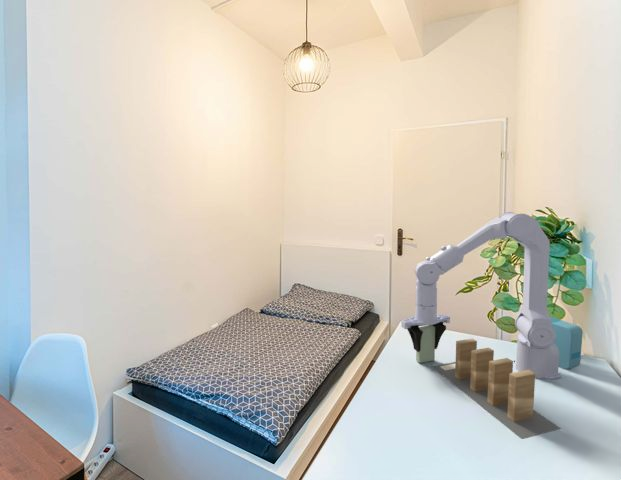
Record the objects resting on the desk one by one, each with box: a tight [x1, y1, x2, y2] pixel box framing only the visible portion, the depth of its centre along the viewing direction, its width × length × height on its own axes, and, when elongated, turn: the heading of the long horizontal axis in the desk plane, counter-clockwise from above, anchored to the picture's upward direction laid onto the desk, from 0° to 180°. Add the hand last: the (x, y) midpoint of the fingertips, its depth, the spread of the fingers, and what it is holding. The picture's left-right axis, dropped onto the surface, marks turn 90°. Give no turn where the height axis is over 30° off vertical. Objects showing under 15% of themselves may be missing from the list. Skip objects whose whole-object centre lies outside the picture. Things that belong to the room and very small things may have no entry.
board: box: [431, 361, 562, 440], centre depth 78 cm, size 10×29×1 cm, turn 14°
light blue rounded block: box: [550, 316, 584, 370], centre depth 93 cm, size 12×4×12 cm, turn 21°
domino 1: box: [455, 338, 478, 380], centre depth 84 cm, size 2×5×10 cm, turn 104°
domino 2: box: [470, 347, 495, 392], centre depth 79 cm, size 2×5×10 cm, turn 105°
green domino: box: [415, 325, 436, 363], centre depth 93 cm, size 2×5×10 cm, turn 105°
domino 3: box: [487, 357, 514, 406], centre depth 74 cm, size 2×5×10 cm, turn 105°
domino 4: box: [507, 370, 536, 422], centre depth 68 cm, size 2×5×10 cm, turn 105°
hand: (425, 348), depth 93 cm, fingers closed on green domino, 5 cm apart
